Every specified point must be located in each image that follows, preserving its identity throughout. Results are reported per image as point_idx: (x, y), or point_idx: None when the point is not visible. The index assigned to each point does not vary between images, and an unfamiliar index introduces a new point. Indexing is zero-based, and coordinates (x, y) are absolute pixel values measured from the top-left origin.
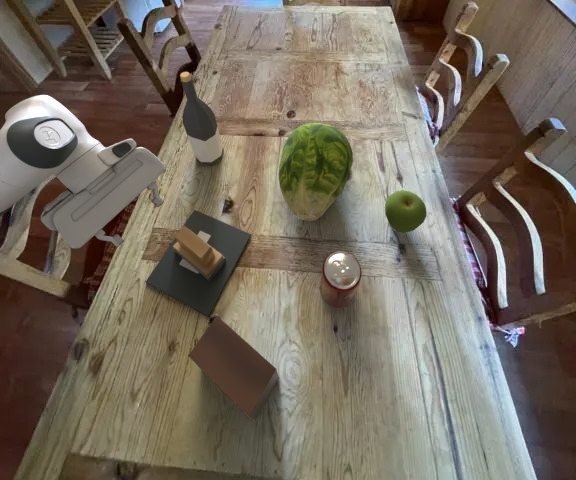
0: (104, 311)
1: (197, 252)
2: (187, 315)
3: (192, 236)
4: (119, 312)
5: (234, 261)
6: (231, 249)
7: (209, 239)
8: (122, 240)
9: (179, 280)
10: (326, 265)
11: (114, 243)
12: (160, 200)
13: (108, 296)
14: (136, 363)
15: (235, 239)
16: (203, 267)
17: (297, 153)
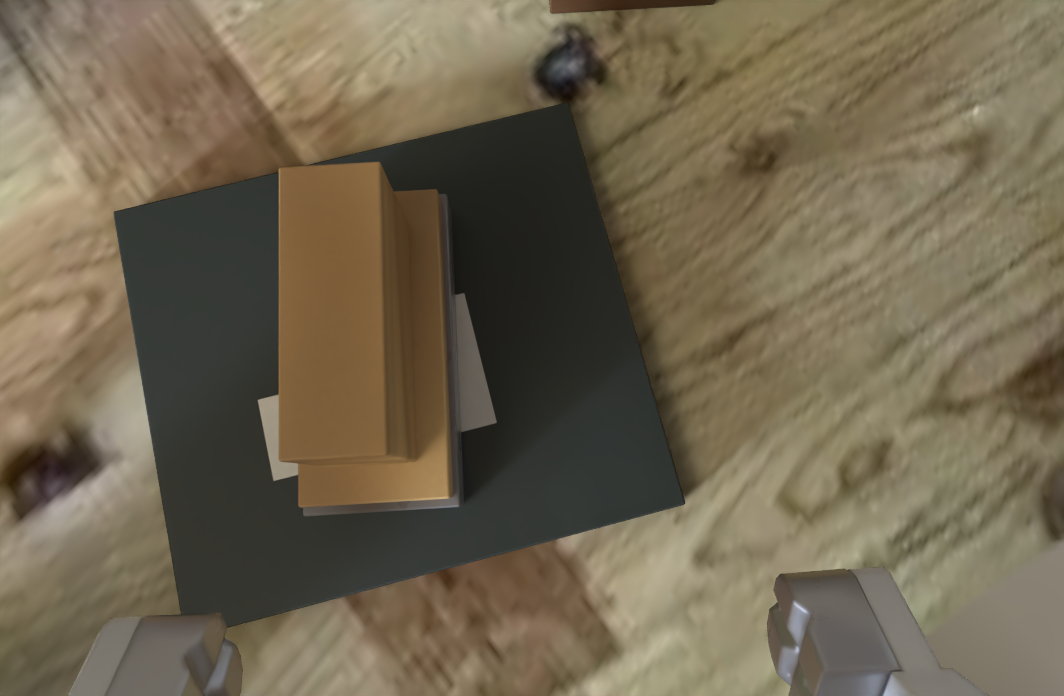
0: (920, 568)
1: (366, 210)
2: (631, 199)
3: (302, 332)
4: (864, 495)
5: None
6: (249, 239)
7: None
8: (798, 578)
9: (553, 348)
10: None
11: (904, 612)
12: (113, 654)
13: None
14: (911, 235)
15: (190, 261)
16: (418, 235)
17: None
